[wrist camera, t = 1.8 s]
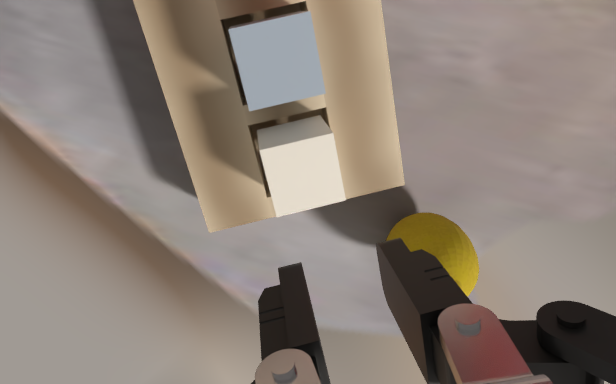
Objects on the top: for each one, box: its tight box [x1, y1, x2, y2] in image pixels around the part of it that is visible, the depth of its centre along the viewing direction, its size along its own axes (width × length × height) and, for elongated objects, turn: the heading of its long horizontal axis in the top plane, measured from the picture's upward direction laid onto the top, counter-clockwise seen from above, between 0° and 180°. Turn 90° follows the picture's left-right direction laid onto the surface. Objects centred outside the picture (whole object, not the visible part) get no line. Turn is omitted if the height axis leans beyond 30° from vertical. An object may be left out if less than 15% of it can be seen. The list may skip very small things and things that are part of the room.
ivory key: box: [257, 115, 346, 217], centre depth 24 cm, size 4×4×4 cm
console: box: [133, 0, 405, 233], centre depth 25 cm, size 12×18×4 cm, turn 12°
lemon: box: [386, 213, 479, 296], centre depth 30 cm, size 6×6×8 cm
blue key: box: [228, 11, 326, 111], centre depth 22 cm, size 4×4×4 cm
